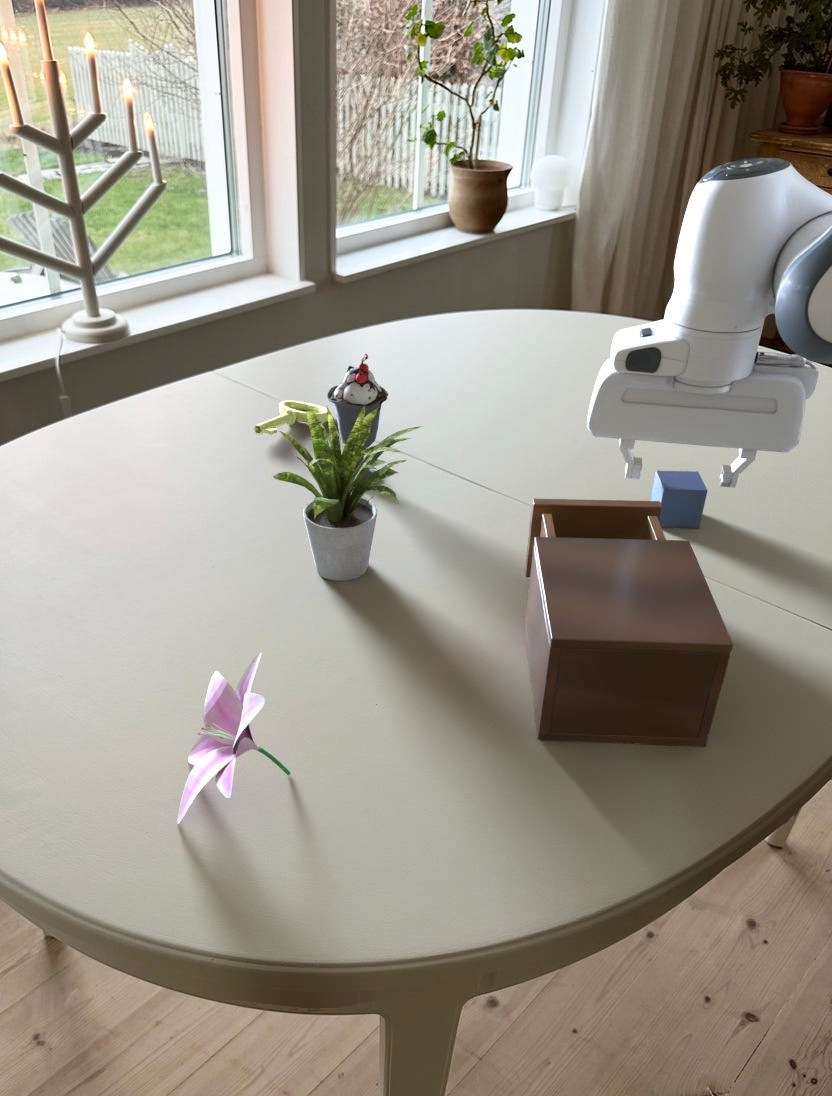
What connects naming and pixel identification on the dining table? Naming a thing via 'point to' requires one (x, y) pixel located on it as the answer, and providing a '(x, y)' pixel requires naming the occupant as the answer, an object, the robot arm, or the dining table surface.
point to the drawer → (593, 521)
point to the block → (679, 498)
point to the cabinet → (623, 642)
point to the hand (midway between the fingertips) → (679, 480)
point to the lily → (224, 735)
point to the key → (291, 416)
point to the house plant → (342, 494)
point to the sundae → (357, 402)
